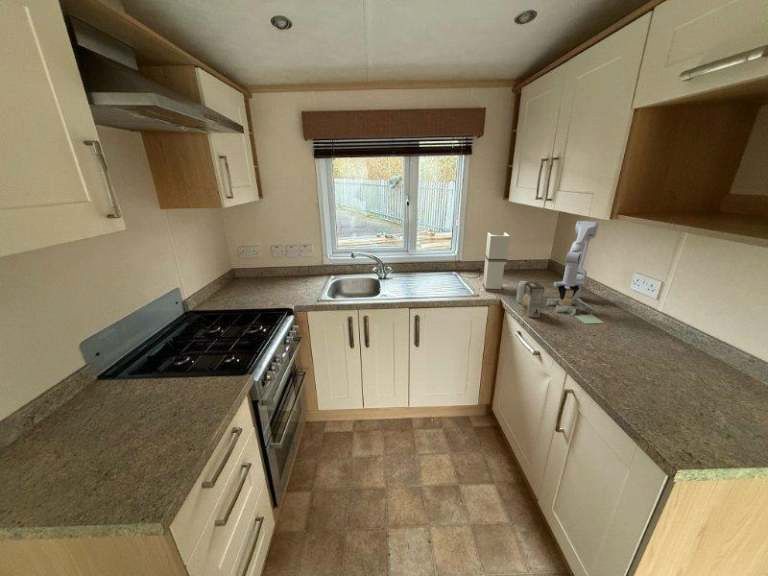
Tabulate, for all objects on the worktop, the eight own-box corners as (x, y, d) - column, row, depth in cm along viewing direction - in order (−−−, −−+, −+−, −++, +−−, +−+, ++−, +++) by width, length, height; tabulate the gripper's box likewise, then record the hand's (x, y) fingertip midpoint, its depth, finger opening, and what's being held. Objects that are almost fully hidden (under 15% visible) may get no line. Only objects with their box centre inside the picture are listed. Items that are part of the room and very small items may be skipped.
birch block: (558, 303, 165) (561, 287, 162) (566, 303, 165) (569, 287, 162) (563, 306, 161) (566, 290, 158) (570, 306, 161) (573, 290, 158)
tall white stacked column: (503, 292, 188) (509, 235, 176) (485, 291, 190) (490, 235, 178) (499, 286, 199) (505, 232, 187) (482, 285, 200) (487, 232, 189)
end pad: (574, 315, 155) (574, 315, 154) (591, 315, 154) (592, 314, 154) (585, 323, 146) (585, 323, 146) (603, 323, 146) (604, 322, 146)
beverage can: (529, 304, 169) (532, 284, 165) (517, 304, 170) (519, 284, 166) (526, 300, 175) (529, 280, 171) (514, 299, 176) (517, 280, 172)
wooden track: (546, 304, 169) (547, 298, 168) (575, 303, 169) (576, 298, 168) (560, 315, 155) (562, 309, 154) (592, 315, 155) (594, 308, 154)
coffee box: (520, 309, 163) (524, 281, 158) (533, 309, 163) (537, 281, 157) (527, 317, 154) (531, 287, 149) (540, 317, 154) (545, 287, 149)
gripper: (560, 277, 154) (556, 301, 159) (589, 276, 154) (584, 301, 158) (553, 273, 160) (549, 296, 165) (581, 272, 160) (576, 296, 165)
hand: (565, 298), depth 162 cm, fingers closed on birch block, 4 cm apart
